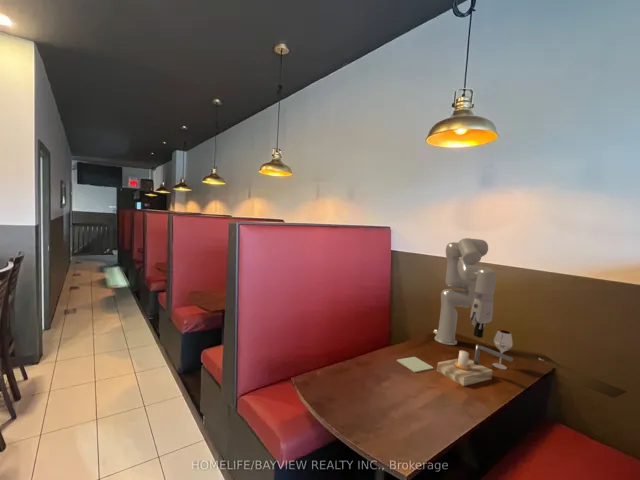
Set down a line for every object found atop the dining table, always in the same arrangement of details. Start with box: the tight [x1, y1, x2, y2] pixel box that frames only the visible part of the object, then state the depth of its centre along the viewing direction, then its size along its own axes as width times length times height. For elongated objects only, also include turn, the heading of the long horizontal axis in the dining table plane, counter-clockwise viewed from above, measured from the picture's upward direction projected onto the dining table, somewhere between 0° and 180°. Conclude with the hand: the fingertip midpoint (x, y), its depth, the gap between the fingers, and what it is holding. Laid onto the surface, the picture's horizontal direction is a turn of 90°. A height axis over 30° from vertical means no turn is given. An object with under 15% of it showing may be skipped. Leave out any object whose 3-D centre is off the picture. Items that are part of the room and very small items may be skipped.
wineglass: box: [492, 329, 513, 370], centre depth 156 cm, size 8×8×18 cm
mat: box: [396, 356, 434, 373], centre depth 148 cm, size 12×12×1 cm
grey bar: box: [473, 344, 514, 365], centre depth 140 cm, size 16×2×9 cm, turn 34°
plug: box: [455, 350, 470, 370], centre depth 142 cm, size 6×6×11 cm
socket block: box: [436, 358, 494, 387], centre depth 143 cm, size 14×20×4 cm
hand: (477, 336), depth 139 cm, fingers closed
